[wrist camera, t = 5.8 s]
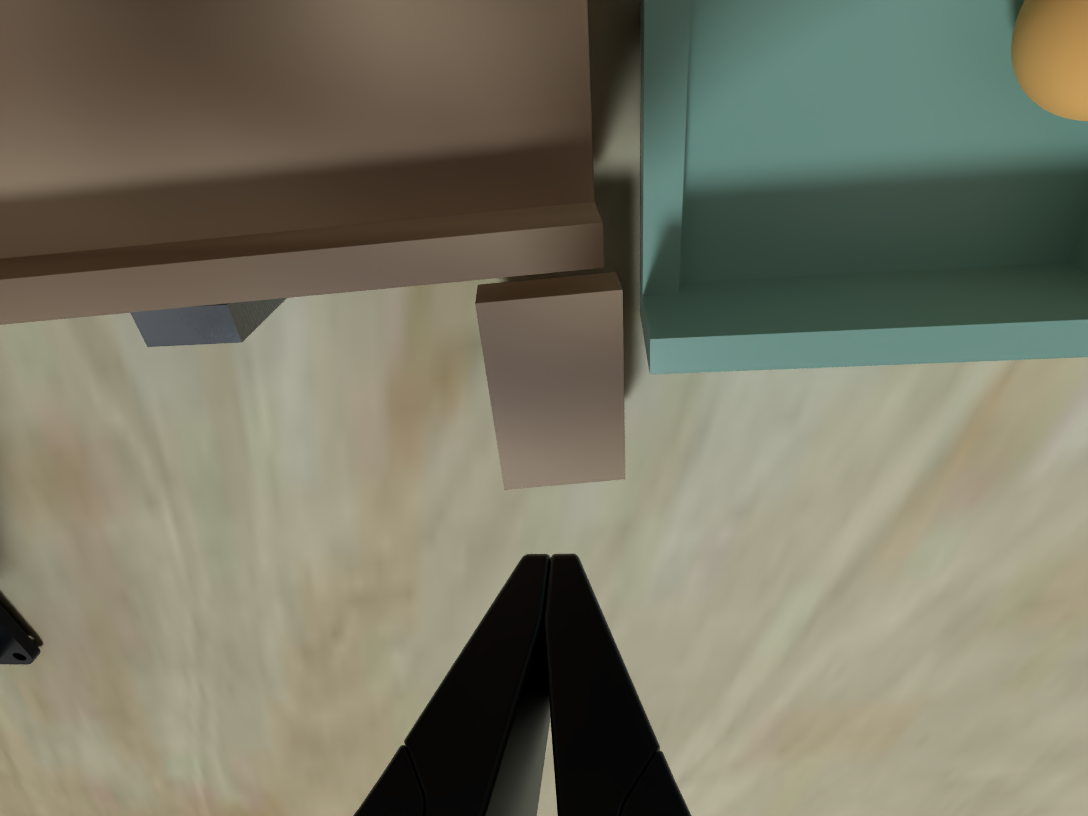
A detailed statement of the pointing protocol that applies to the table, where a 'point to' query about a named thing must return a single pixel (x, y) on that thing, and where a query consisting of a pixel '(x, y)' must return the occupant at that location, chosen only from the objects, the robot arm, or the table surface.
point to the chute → (324, 180)
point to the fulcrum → (203, 323)
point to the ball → (1053, 55)
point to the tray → (852, 189)
